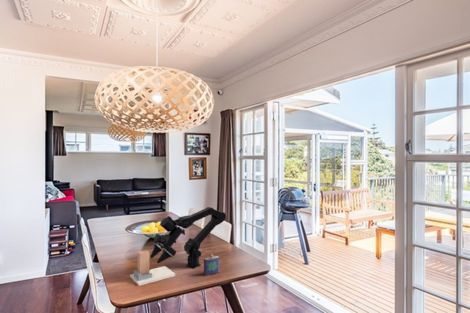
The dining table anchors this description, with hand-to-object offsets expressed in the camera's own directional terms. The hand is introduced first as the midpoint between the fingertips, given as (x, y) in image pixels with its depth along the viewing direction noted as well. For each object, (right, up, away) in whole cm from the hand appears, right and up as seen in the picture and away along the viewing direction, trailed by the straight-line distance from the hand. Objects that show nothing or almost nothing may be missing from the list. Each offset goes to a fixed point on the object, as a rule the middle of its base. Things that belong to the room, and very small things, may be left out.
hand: (154, 260), depth 158 cm
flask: (+31, -9, +4) cm, 32 cm away
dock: (-1, -9, 0) cm, 9 cm away
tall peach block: (-5, -7, -3) cm, 9 cm away
